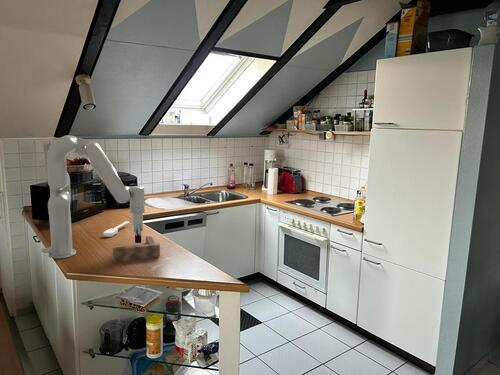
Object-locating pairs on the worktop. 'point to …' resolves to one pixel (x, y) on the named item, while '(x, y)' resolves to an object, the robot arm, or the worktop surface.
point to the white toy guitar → (112, 230)
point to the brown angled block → (137, 251)
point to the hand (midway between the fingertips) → (138, 242)
